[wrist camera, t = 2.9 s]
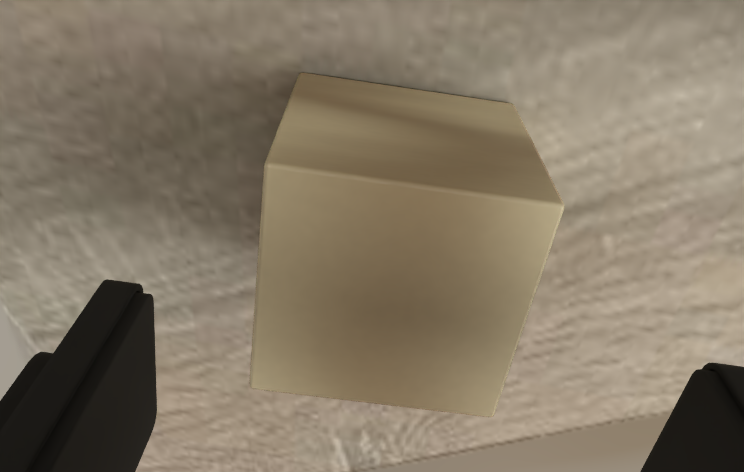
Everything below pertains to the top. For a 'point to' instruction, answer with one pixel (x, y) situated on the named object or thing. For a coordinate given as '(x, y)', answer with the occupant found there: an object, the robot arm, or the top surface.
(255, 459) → the top surface
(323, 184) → the toy block
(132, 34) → the top surface
